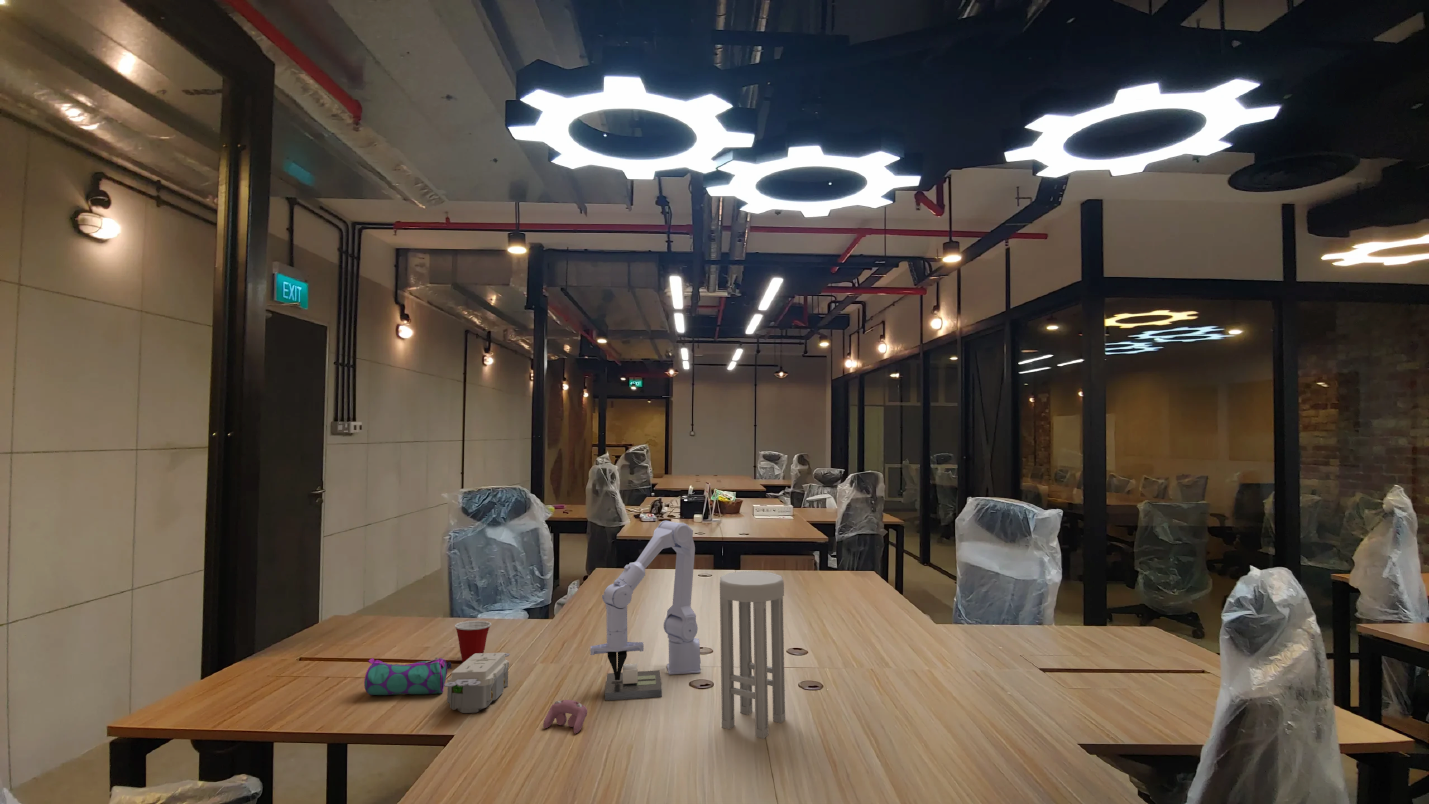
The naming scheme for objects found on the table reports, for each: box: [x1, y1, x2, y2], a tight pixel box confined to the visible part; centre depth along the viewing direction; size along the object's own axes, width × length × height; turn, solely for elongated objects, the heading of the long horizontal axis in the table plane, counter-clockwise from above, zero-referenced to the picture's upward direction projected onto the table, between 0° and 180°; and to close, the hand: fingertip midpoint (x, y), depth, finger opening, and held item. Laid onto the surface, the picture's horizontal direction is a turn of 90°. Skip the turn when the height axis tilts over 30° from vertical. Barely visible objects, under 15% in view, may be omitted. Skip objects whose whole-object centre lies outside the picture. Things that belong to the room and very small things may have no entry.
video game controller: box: [542, 699, 588, 735], centre depth 153 cm, size 10×5×7 cm, turn 71°
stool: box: [719, 570, 786, 740], centre depth 154 cm, size 16×16×35 cm
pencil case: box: [363, 657, 452, 696], centre depth 175 cm, size 21×9×10 cm, turn 96°
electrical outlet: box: [444, 652, 511, 714], centre depth 170 cm, size 12×28×10 cm, turn 2°
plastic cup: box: [454, 620, 492, 663], centre depth 198 cm, size 11×11×12 cm
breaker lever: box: [622, 662, 639, 684], centre depth 176 cm, size 4×5×4 cm
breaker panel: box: [604, 670, 663, 701], centre depth 176 cm, size 15×14×2 cm
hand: (617, 678), depth 175 cm, fingers closed
